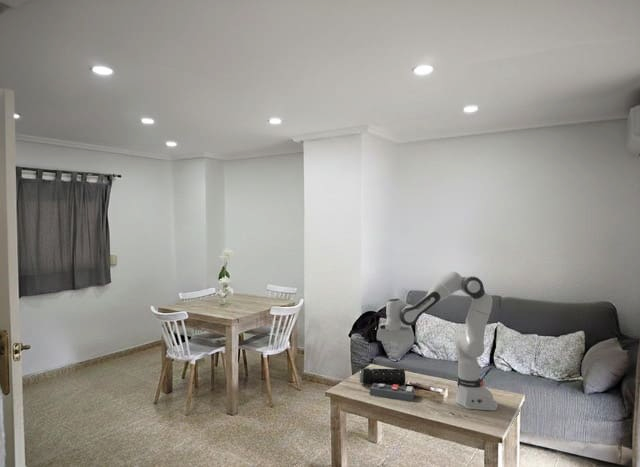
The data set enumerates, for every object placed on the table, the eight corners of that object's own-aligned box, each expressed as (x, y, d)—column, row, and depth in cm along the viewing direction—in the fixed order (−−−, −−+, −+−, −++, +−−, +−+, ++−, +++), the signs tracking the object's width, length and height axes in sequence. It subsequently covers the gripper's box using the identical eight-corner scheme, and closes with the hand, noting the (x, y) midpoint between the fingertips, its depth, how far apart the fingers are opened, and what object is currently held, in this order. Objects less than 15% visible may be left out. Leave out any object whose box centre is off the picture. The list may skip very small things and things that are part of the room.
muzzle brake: (405, 388, 257) (405, 371, 257) (360, 387, 258) (360, 371, 257) (402, 382, 266) (402, 366, 266) (359, 382, 267) (359, 366, 267)
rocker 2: (412, 388, 243) (412, 386, 243) (411, 392, 239) (411, 391, 239) (407, 387, 245) (407, 385, 244) (405, 391, 240) (405, 390, 240)
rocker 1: (385, 385, 249) (385, 384, 250) (383, 387, 245) (383, 385, 245) (379, 384, 251) (379, 383, 251) (377, 386, 246) (377, 384, 246)
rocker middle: (398, 386, 246) (398, 384, 246) (397, 390, 242) (397, 389, 242) (393, 385, 248) (393, 384, 248) (391, 389, 243) (391, 388, 243)
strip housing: (414, 395, 245) (414, 388, 245) (412, 401, 237) (412, 394, 237) (373, 389, 254) (373, 382, 254) (369, 394, 246) (369, 388, 246)
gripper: (412, 326, 246) (412, 349, 246) (378, 323, 253) (378, 345, 254) (410, 328, 240) (410, 352, 240) (375, 325, 247) (376, 348, 248)
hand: (393, 348), depth 247 cm, fingers open, 3 cm apart
